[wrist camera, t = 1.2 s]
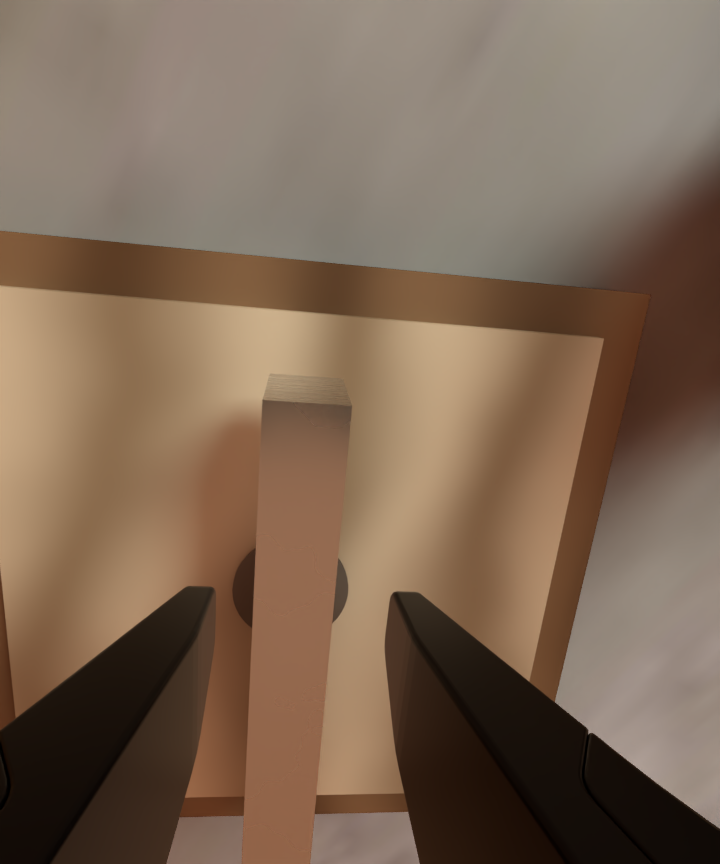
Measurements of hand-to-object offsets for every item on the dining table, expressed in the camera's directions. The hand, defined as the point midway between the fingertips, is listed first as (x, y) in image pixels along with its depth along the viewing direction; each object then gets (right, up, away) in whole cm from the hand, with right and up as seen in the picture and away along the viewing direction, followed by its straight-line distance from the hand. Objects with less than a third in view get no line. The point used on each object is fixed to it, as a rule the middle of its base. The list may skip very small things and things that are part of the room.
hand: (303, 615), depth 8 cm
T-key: (-2, -3, +11) cm, 11 cm away
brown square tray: (-2, -2, +14) cm, 14 cm away
